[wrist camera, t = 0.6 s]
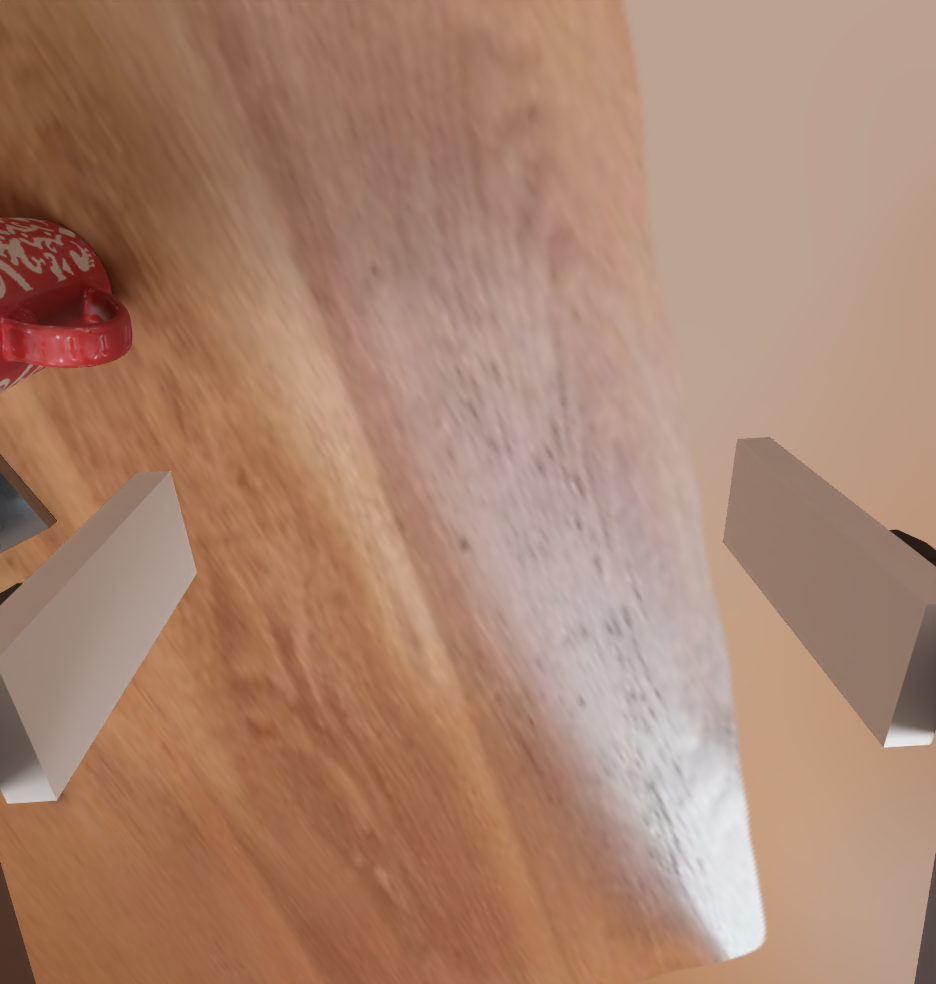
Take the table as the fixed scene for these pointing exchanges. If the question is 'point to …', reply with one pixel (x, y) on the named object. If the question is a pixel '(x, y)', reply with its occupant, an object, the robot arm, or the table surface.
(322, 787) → the table surface
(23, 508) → the plate
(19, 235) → the mug
